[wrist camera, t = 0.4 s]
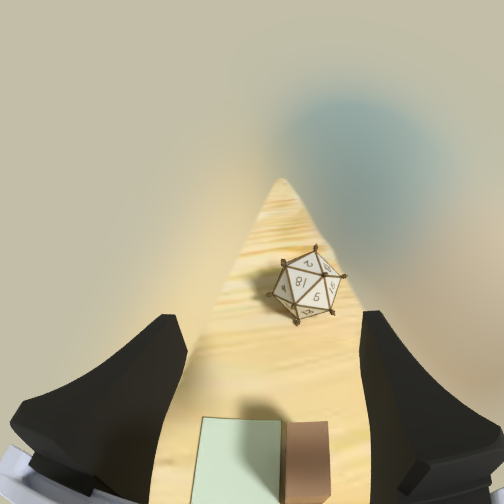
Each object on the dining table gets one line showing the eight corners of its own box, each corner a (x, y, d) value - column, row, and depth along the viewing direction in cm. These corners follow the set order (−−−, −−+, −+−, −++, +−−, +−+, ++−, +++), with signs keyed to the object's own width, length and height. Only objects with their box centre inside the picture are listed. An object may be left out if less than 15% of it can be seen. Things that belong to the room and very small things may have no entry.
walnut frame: (319, 506, 21) (331, 495, 16) (284, 507, 21) (285, 497, 17) (318, 448, 25) (328, 421, 21) (285, 449, 26) (287, 422, 21)
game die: (291, 334, 41) (238, 295, 36) (312, 278, 45) (266, 235, 40) (349, 339, 34) (298, 296, 30) (367, 275, 38) (325, 224, 33)
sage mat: (277, 537, 18) (277, 537, 18) (188, 530, 19) (187, 530, 19) (280, 421, 28) (280, 420, 28) (204, 418, 29) (203, 417, 28)
